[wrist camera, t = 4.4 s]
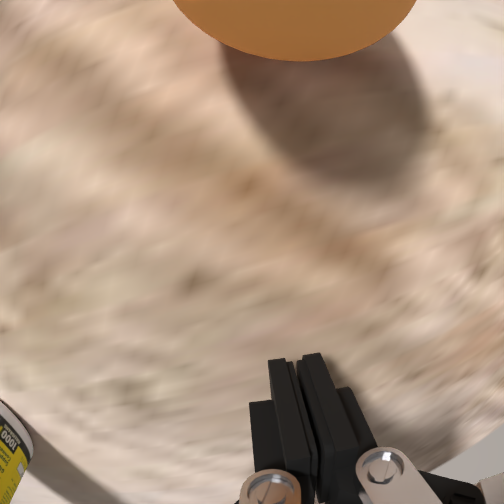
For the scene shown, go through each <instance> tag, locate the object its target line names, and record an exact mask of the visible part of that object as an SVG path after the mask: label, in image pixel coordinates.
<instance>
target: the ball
mask: <svg viewBox="0 0 504 504" xmlns="http://www.w3.org/2000/svg"><path fill="white" fill-rule="evenodd" d="M173 1H174V2H175V4H176V5H177V7H178V8H179V9H180V10H181V11H182V13H183V14H184V15H185V16H186V17H187V18H188V19H189V20H190V21H191V22H192V23H193V24H195V25H196V26H197V27H198V28H200V29H201V30H202V31H204V32H205V33H207V34H208V35H209V36H211V37H213V38H215V39H216V40H218V41H220V42H222V43H224V44H226V45H228V46H230V47H233V48H235V49H237V50H240V51H243V52H245V53H249V54H253V55H256V56H260V57H264V58H269V59H276V60H285V61H317V60H325V59H331V58H336V57H340V56H344V55H348V54H351V53H354V52H356V51H359V50H361V49H363V48H365V47H368V46H370V45H372V44H374V43H376V42H377V41H379V40H380V39H381V38H383V37H384V36H386V35H387V34H389V33H390V32H391V31H393V30H394V29H395V28H396V27H397V26H398V25H399V24H400V23H401V22H402V21H403V20H404V18H405V17H406V16H407V15H408V13H409V12H410V10H411V9H412V7H413V6H414V4H415V2H416V0H173Z"/></svg>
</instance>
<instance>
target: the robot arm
mask: <svg viewBox="0 0 504 504" xmlns="http://www.w3.org/2000/svg"><path fill="white" fill-rule="evenodd" d="M268 368H269V378H270V388H271V398H272V400H266V401H258V402H249V408H250V420H251V432H252V443H253V455H254V466H255V473H254V474H253V475H251V476H250V477H248V478H247V480H246V481H245V482H244V483H243V485H242V488H241V492H240V498H239V500H238V501H237V502H236V503H234V504H314V499H315V490H316V494H317V499H318V502H319V503H324V502H325V504H504V472H503V473H500V474H497V475H494V476H491V477H488V478H485V479H482V480H480V481H479V482H478V483H477V484H470V483H466V482H462V481H458V480H453V479H449V478H445V477H441V476H437V475H434V474H430V473H427V472H423V471H420V470H417V469H416V468H415V467H414V465H413V464H412V463H411V461H410V460H409V459H408V457H407V456H406V455H405V454H404V453H403V452H402V451H400V450H397V449H395V448H391V447H378V446H377V444H376V441H375V439H374V437H373V435H372V433H371V431H370V428H369V426H368V424H367V422H366V420H365V418H364V415H363V413H362V411H361V409H360V407H359V405H358V403H357V401H356V398H355V396H354V394H353V392H352V390H351V389H350V388H349V387H344V388H339V389H335V386H334V384H333V381H332V379H331V377H330V374H329V372H328V370H327V367H326V365H325V363H324V360H323V358H322V356H321V354H320V353H314V354H308V355H303V357H302V360H298V361H297V376H296V373H295V369H294V366H293V362H292V361H291V362H286V360H285V358H281V359H273V360H268Z"/></svg>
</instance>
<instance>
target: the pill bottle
mask: <svg viewBox="0 0 504 504" xmlns="http://www.w3.org/2000/svg"><path fill="white" fill-rule="evenodd" d="M32 455H33V444H32V440H31V438H30V436H29V434H28V432H27V430H26V429H25V427H24V426H23V425H22V423H21V422H20V421H19V420H18V419H17V417H16V416H15V415H14V414H13V413H12V412H11V411H10V410H9V409H8V408H7V407H6V406H5V405H4V404H3V403H2V402H1V401H0V504H10V502H11V499H12V497H13V495H14V493H15V491H16V489H17V487H18V485H19V483H20V480H21V478H22V477H23V474H24V472H25V470H26V468H27V466H28V464H29V462H30V460H31V458H32Z"/></svg>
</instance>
